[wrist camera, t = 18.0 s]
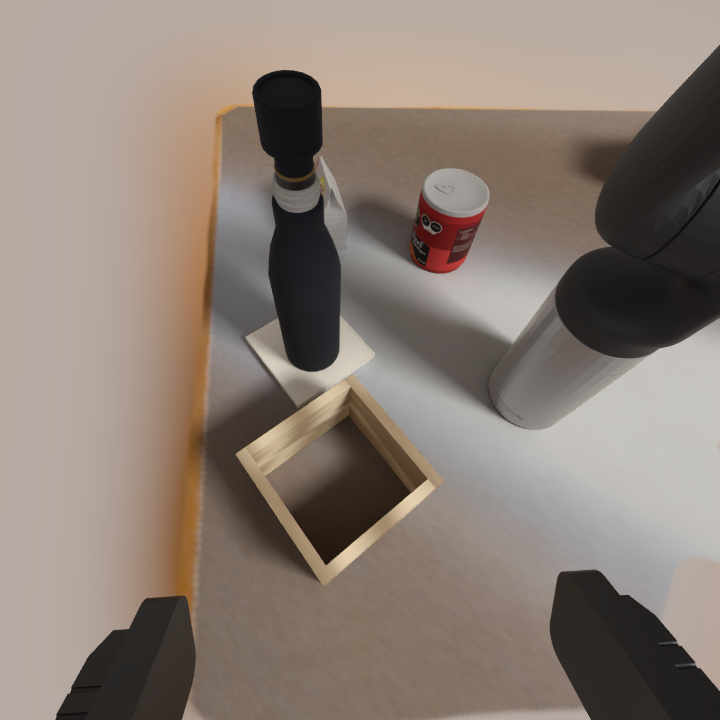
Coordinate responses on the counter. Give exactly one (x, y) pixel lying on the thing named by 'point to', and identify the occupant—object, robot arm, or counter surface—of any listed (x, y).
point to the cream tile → (305, 383)
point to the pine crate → (310, 426)
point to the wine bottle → (299, 220)
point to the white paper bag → (332, 205)
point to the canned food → (447, 219)
